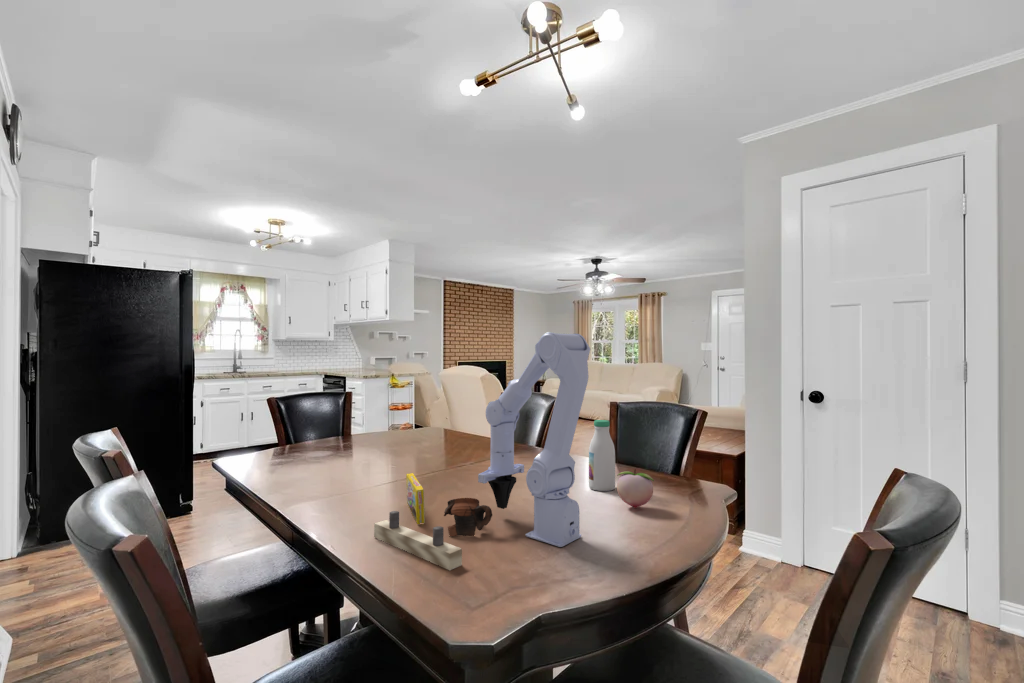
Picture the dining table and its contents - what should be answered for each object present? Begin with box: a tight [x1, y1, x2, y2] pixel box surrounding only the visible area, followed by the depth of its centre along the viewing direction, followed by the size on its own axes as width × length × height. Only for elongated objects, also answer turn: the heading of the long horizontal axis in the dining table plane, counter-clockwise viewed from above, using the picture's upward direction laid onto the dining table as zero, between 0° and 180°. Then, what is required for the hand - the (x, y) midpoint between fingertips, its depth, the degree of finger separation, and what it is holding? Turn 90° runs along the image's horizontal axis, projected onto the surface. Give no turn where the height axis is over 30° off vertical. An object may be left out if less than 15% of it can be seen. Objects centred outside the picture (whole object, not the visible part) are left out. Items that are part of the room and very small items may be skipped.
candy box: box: [405, 472, 426, 525], centre depth 118 cm, size 16×2×8 cm, turn 21°
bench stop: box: [373, 510, 463, 571], centre depth 96 cm, size 24×3×6 cm, turn 49°
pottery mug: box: [443, 497, 493, 537], centre depth 107 cm, size 12×9×8 cm
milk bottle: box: [588, 419, 616, 492], centre depth 142 cm, size 8×8×20 cm
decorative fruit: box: [616, 468, 655, 509], centre depth 123 cm, size 9×8×10 cm
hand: (502, 507), depth 115 cm, fingers closed
